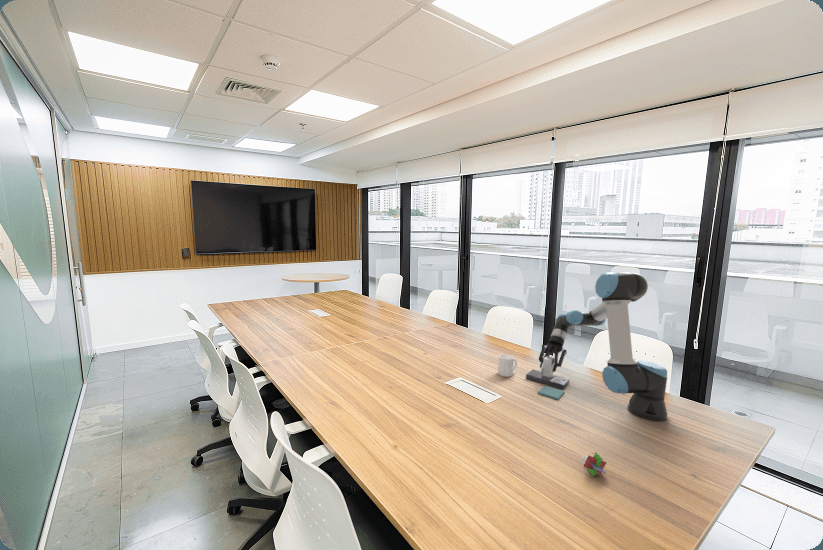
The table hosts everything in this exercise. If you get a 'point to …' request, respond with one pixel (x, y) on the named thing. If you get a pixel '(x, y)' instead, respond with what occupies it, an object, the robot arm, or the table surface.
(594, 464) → the geometric puzzle
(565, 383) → the block
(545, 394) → the teal mat
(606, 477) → the table surface
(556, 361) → the robot arm
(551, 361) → the steel peg
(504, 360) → the mug
